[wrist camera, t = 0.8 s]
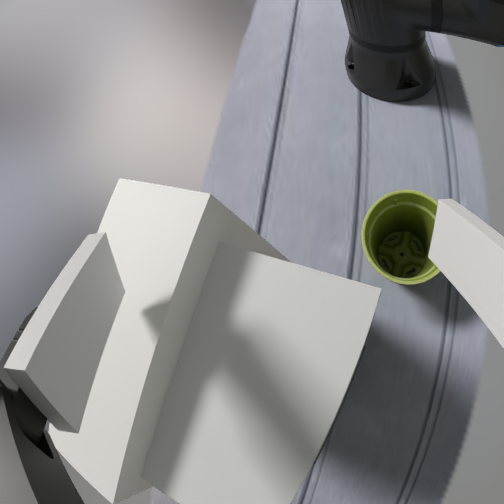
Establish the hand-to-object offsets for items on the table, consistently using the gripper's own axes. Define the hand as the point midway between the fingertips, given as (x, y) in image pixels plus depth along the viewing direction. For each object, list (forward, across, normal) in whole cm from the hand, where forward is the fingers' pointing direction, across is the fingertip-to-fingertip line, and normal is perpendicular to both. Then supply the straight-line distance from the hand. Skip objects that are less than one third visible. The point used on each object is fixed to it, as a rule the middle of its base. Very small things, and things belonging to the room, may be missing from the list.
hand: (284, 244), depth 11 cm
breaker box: (+15, +5, -24) cm, 28 cm away
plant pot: (+19, +17, -14) cm, 29 cm away
